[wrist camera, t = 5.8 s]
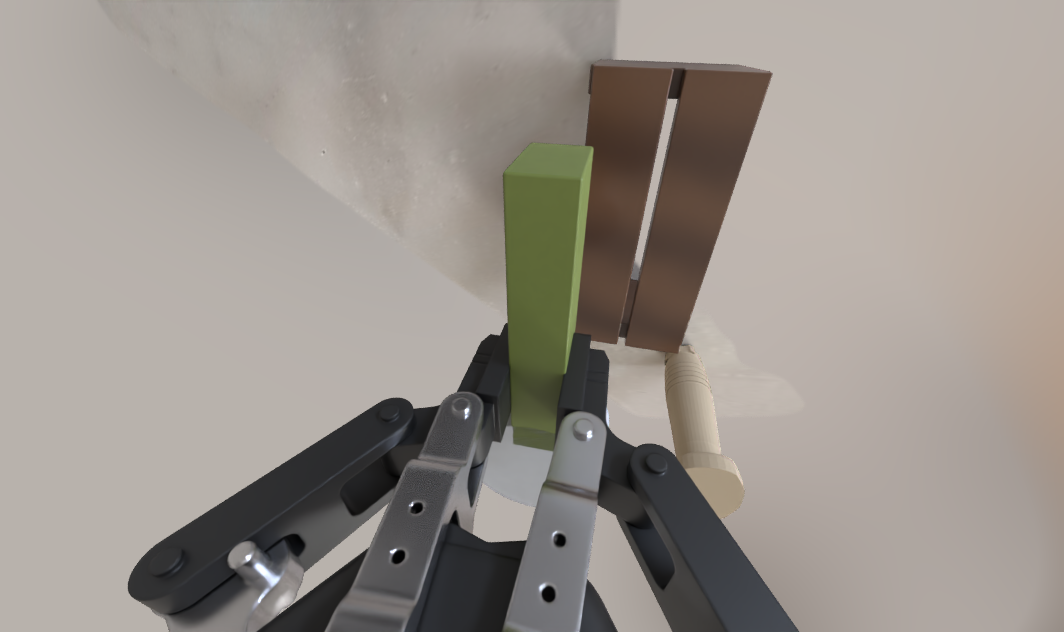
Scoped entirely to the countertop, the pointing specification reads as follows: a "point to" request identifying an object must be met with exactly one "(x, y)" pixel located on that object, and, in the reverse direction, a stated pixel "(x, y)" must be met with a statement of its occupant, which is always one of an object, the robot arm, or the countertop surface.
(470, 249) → the countertop surface
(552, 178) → the green handled white cylinder
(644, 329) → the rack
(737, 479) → the handle
